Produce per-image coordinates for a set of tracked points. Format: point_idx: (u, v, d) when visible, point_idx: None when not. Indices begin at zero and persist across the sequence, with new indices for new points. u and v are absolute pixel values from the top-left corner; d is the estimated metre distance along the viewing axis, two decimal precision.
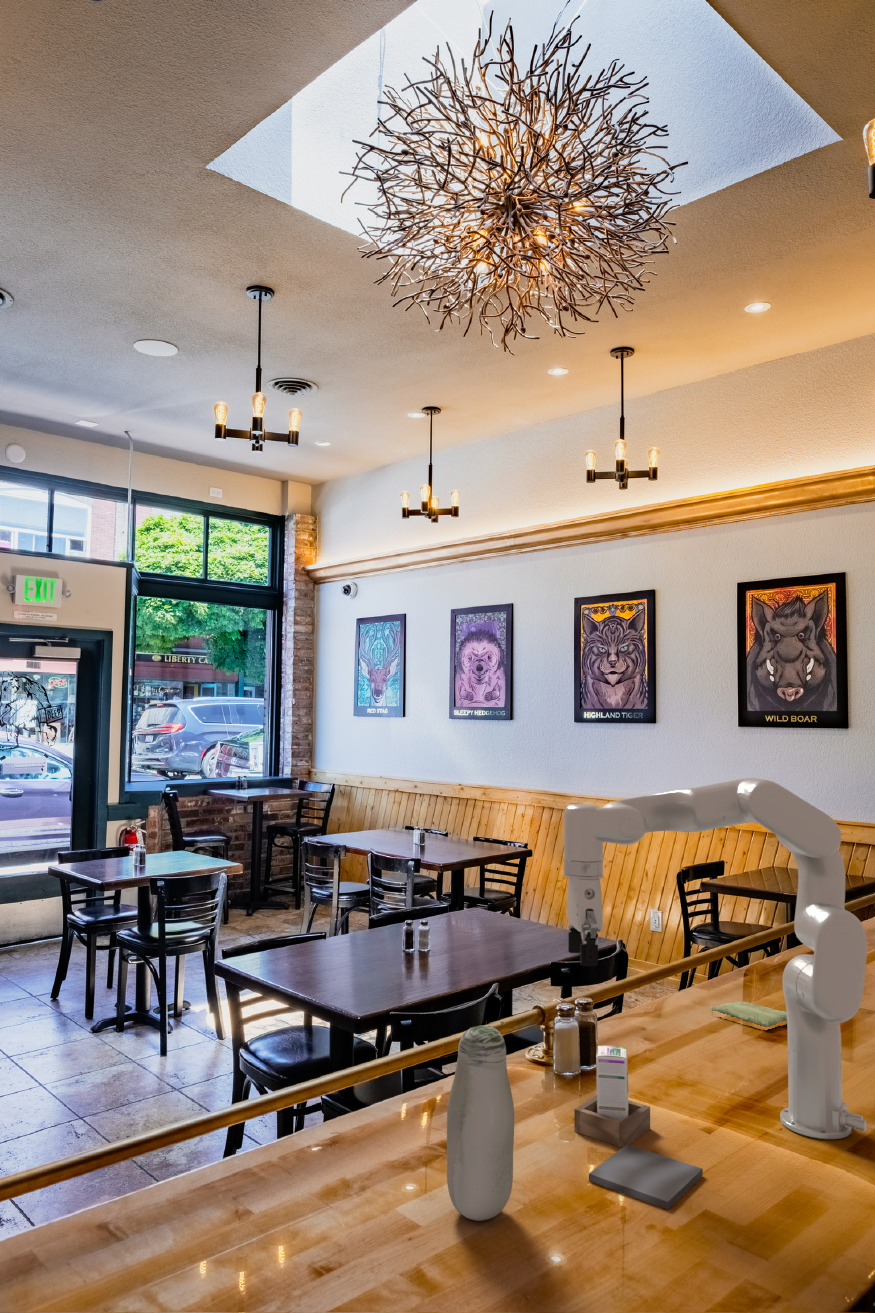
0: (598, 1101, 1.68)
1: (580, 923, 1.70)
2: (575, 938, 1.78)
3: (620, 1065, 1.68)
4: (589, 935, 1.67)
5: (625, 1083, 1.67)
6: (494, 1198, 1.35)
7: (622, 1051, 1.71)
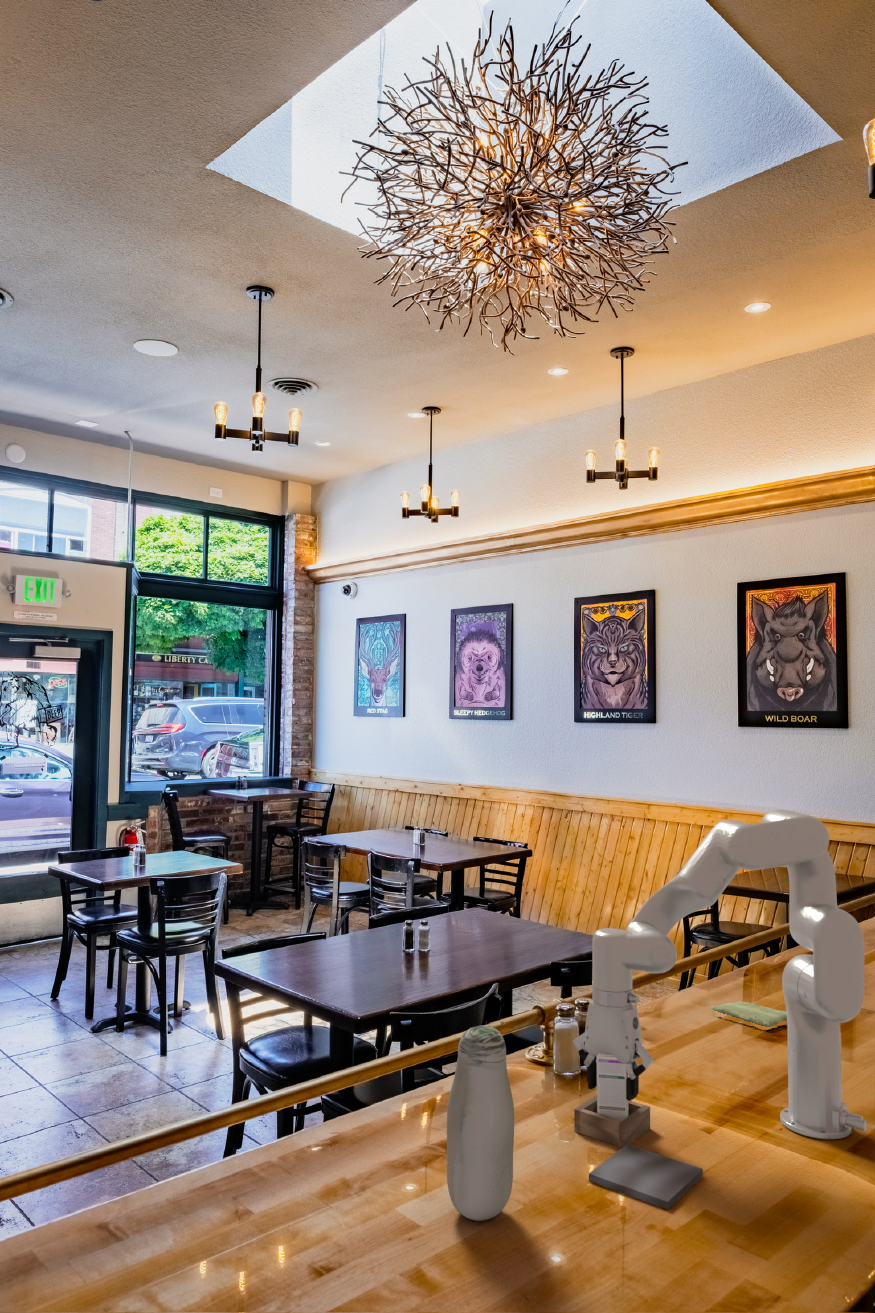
0: (598, 1101, 1.68)
1: (631, 1055, 1.67)
2: (594, 1072, 1.72)
3: (620, 1065, 1.68)
4: (643, 1068, 1.66)
5: (625, 1083, 1.67)
6: (494, 1198, 1.35)
7: None
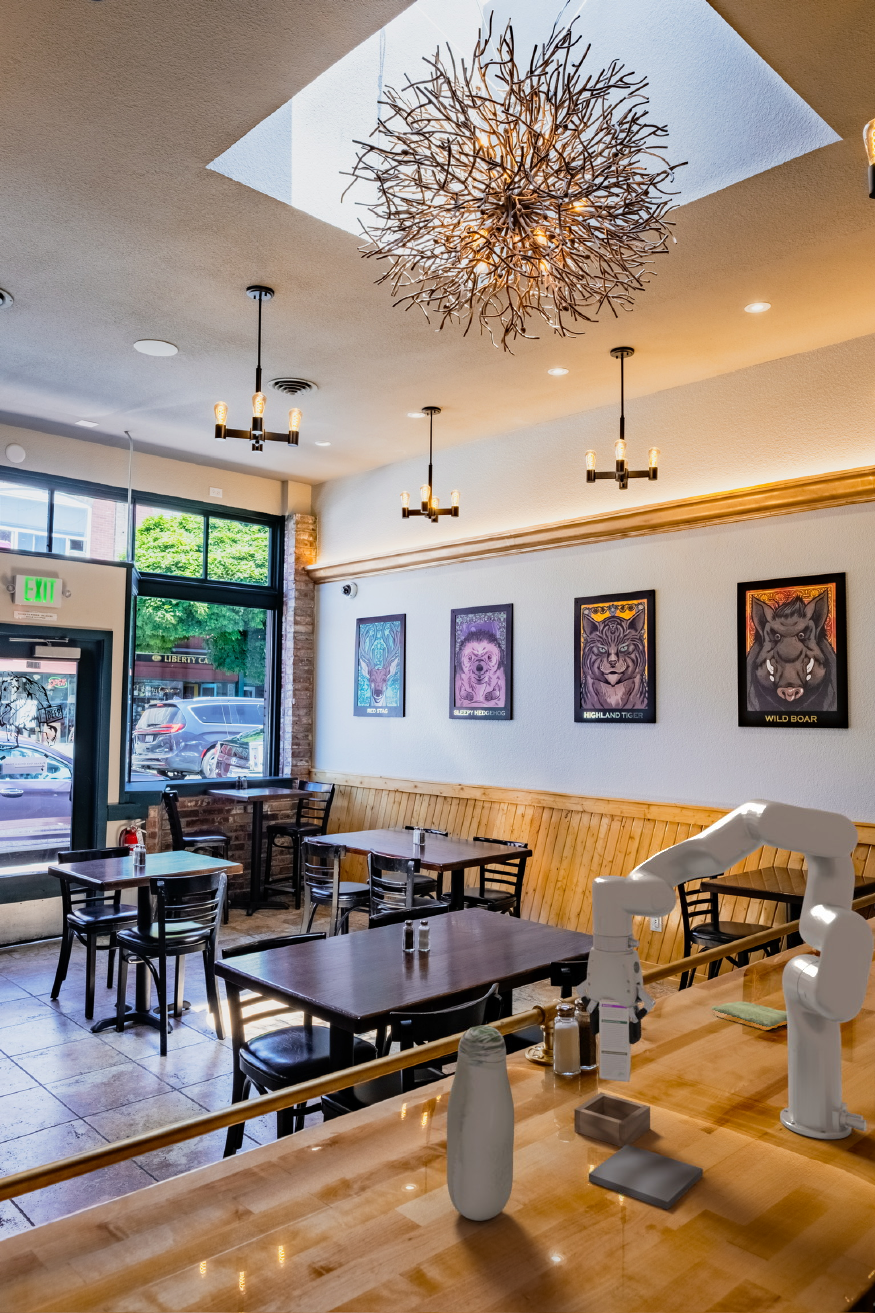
0: (600, 1045, 1.69)
1: (633, 999, 1.67)
2: (597, 1019, 1.73)
3: (623, 1010, 1.68)
4: (645, 1012, 1.67)
5: (628, 1028, 1.68)
6: (494, 1198, 1.35)
7: None
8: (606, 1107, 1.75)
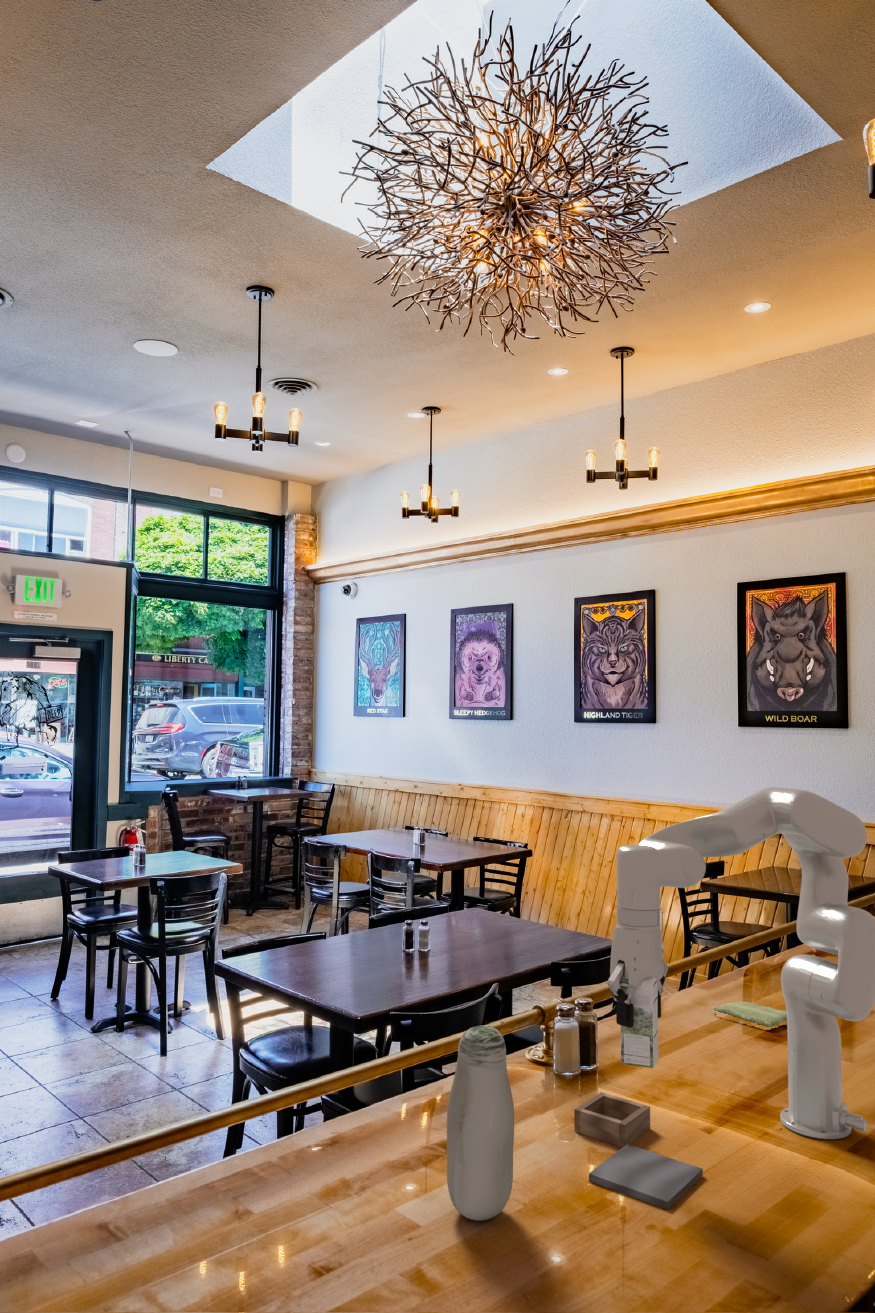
0: (653, 1031, 1.53)
1: None
2: None
3: (656, 984, 1.58)
4: None
5: (657, 1002, 1.58)
6: (494, 1198, 1.35)
7: None
8: (606, 1107, 1.75)
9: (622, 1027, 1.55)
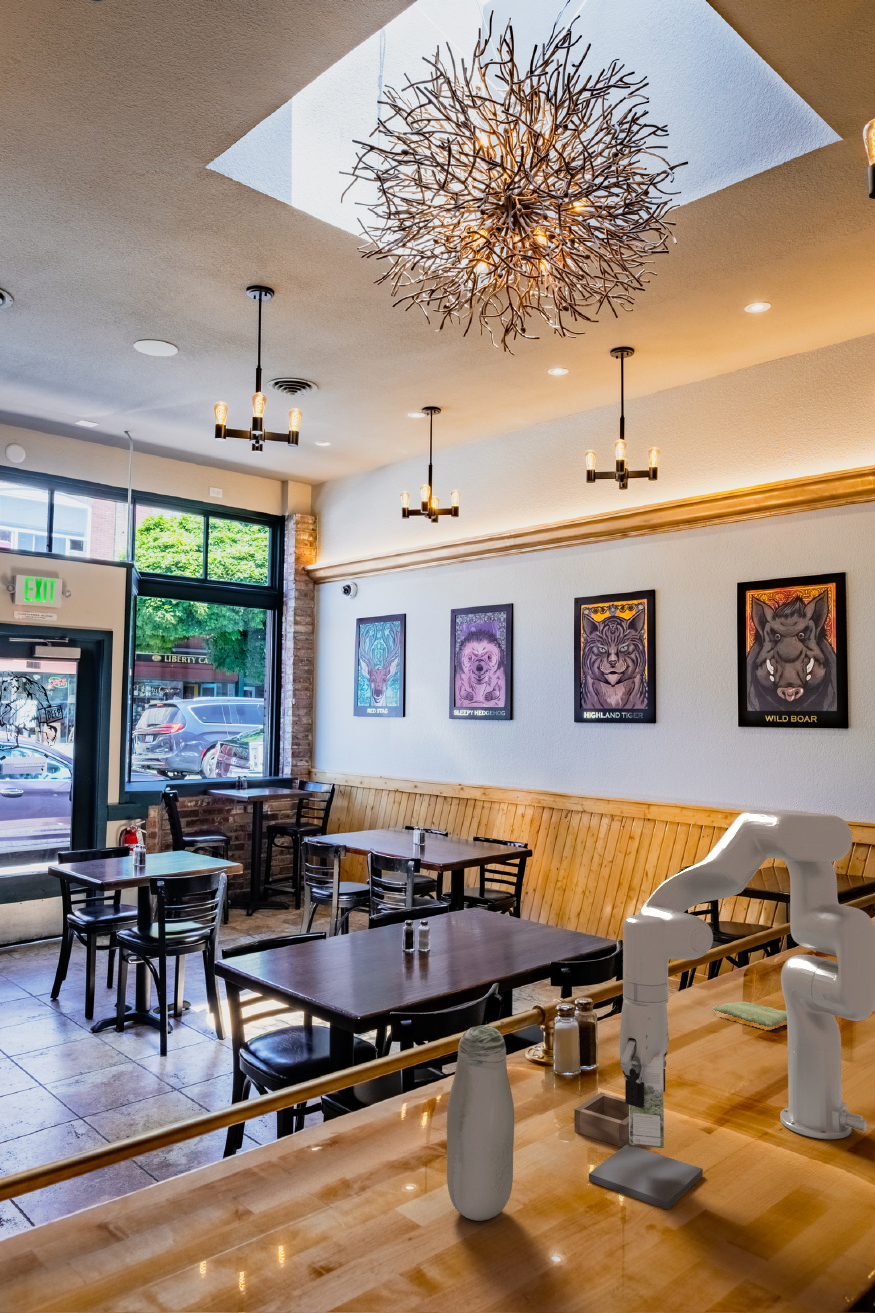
0: (663, 1110, 1.49)
1: None
2: None
3: None
4: None
5: None
6: (494, 1198, 1.35)
7: None
8: (606, 1107, 1.75)
9: (631, 1107, 1.50)
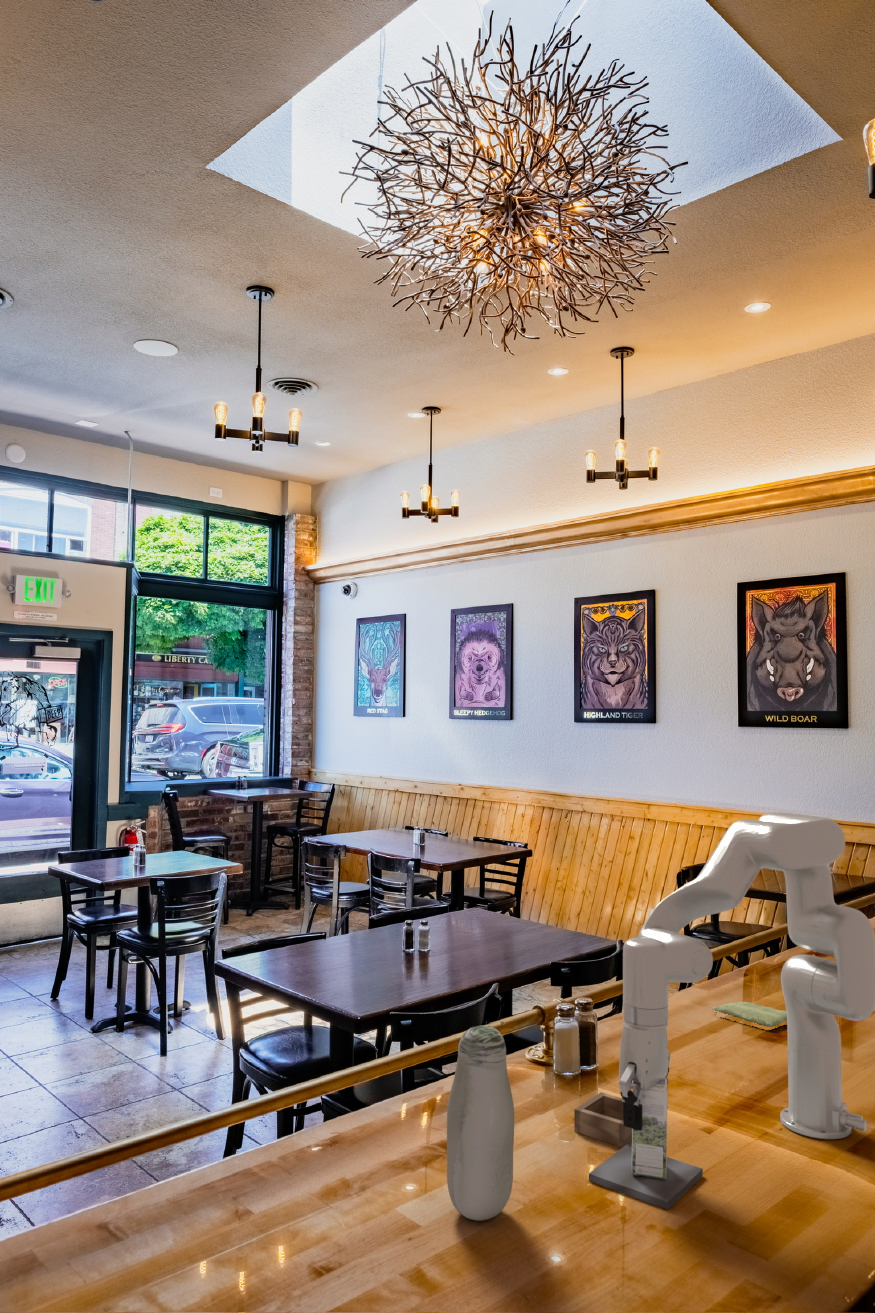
0: (666, 1141, 1.49)
1: None
2: None
3: None
4: None
5: None
6: (494, 1198, 1.35)
7: None
8: (606, 1107, 1.75)
9: (634, 1137, 1.50)
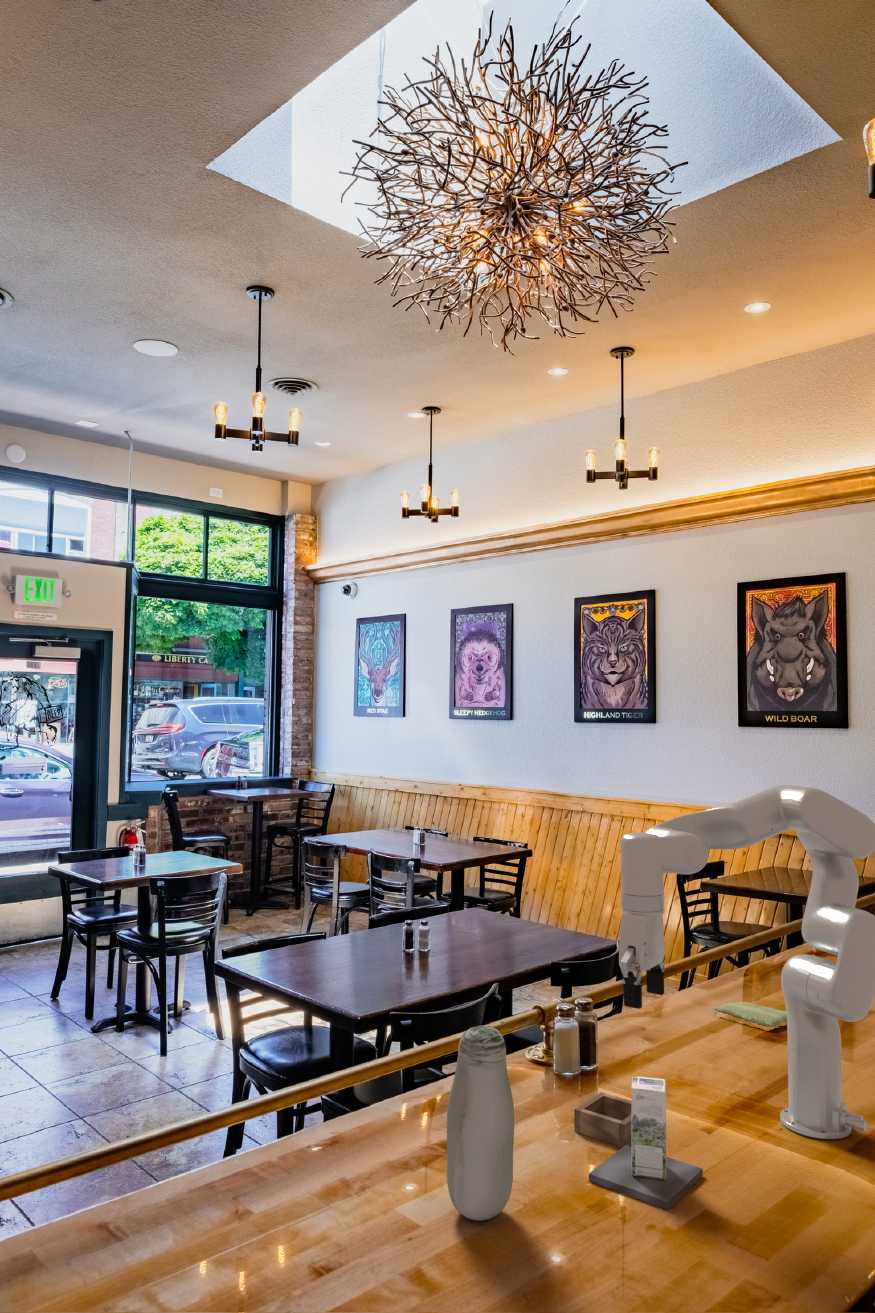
0: None
1: None
2: None
3: None
4: None
5: None
6: (494, 1198, 1.35)
7: (645, 1078, 1.55)
8: (606, 1107, 1.75)
9: (633, 1138, 1.50)
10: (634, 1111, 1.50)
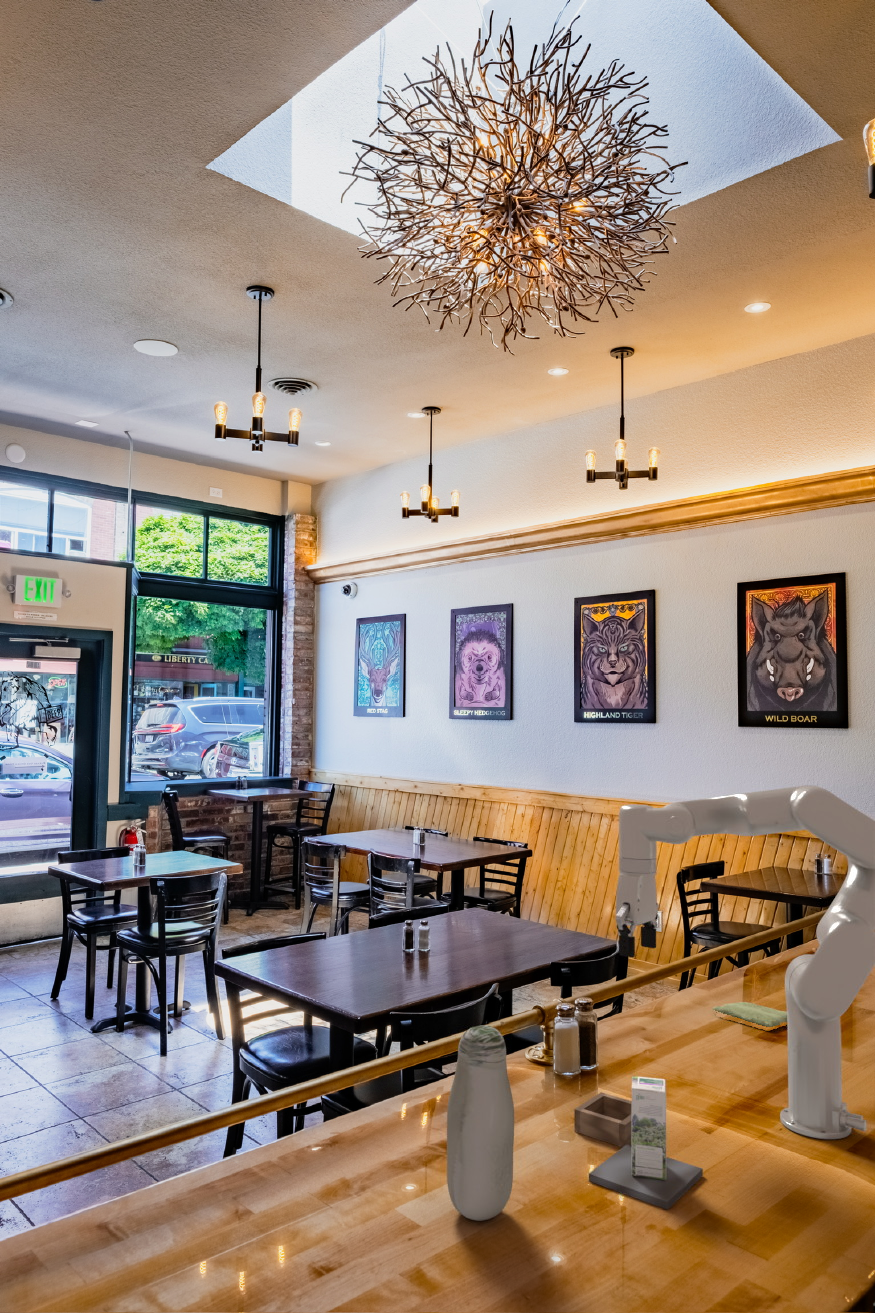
0: None
1: None
2: None
3: None
4: None
5: None
6: (494, 1198, 1.35)
7: (645, 1078, 1.55)
8: (606, 1107, 1.75)
9: (633, 1138, 1.50)
10: (634, 1111, 1.50)
